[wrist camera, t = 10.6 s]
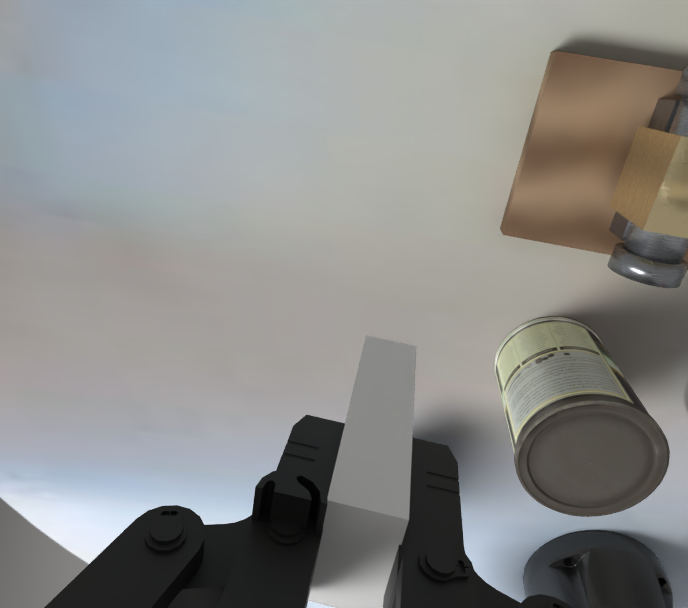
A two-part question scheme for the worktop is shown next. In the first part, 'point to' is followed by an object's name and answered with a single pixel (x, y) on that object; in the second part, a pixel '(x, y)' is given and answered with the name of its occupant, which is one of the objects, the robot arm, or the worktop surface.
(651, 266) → the valve body
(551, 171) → the base board
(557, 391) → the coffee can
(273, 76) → the worktop surface
